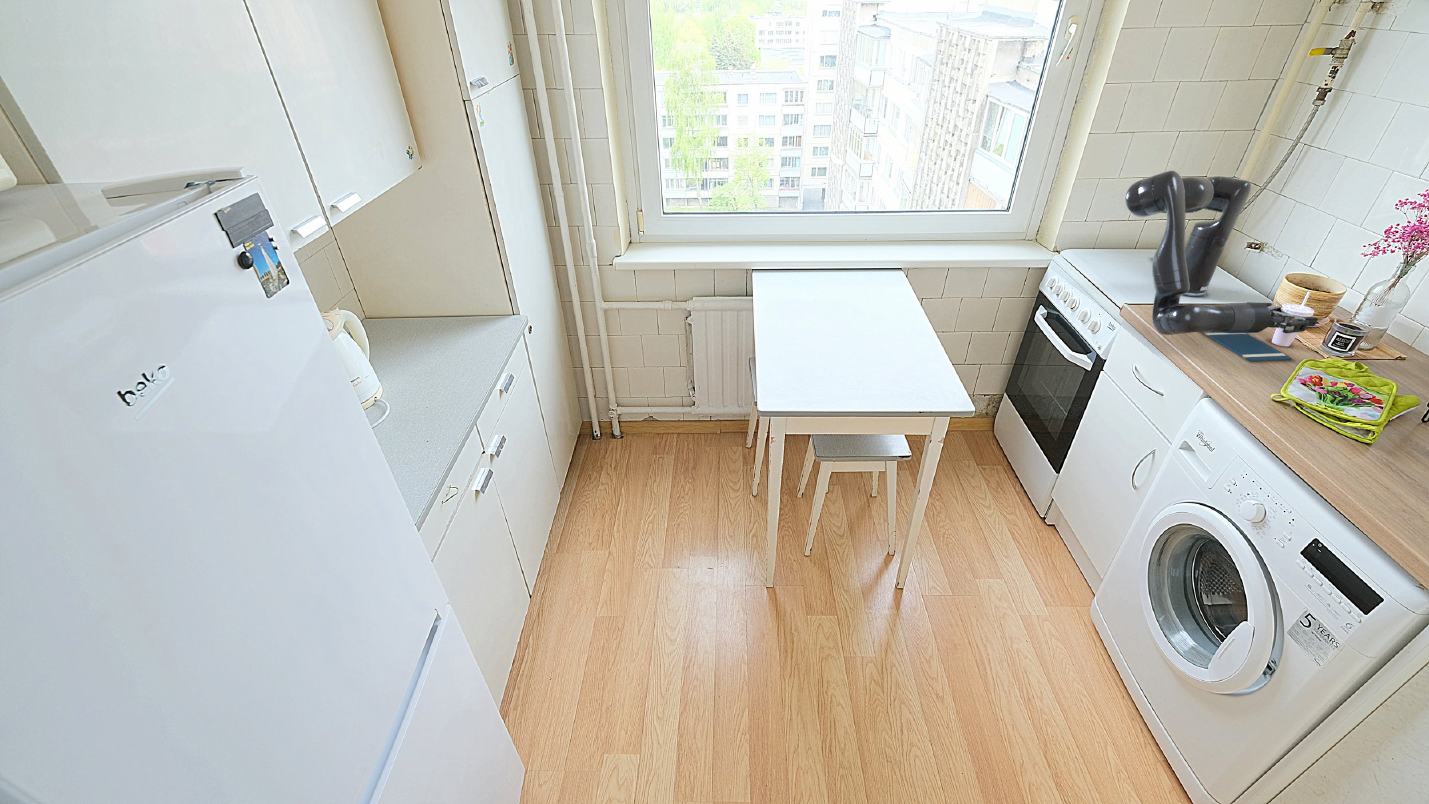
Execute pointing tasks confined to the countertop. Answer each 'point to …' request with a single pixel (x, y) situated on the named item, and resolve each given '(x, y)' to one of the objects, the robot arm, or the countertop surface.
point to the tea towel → (1248, 346)
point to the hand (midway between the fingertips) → (1303, 316)
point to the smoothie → (1296, 311)
